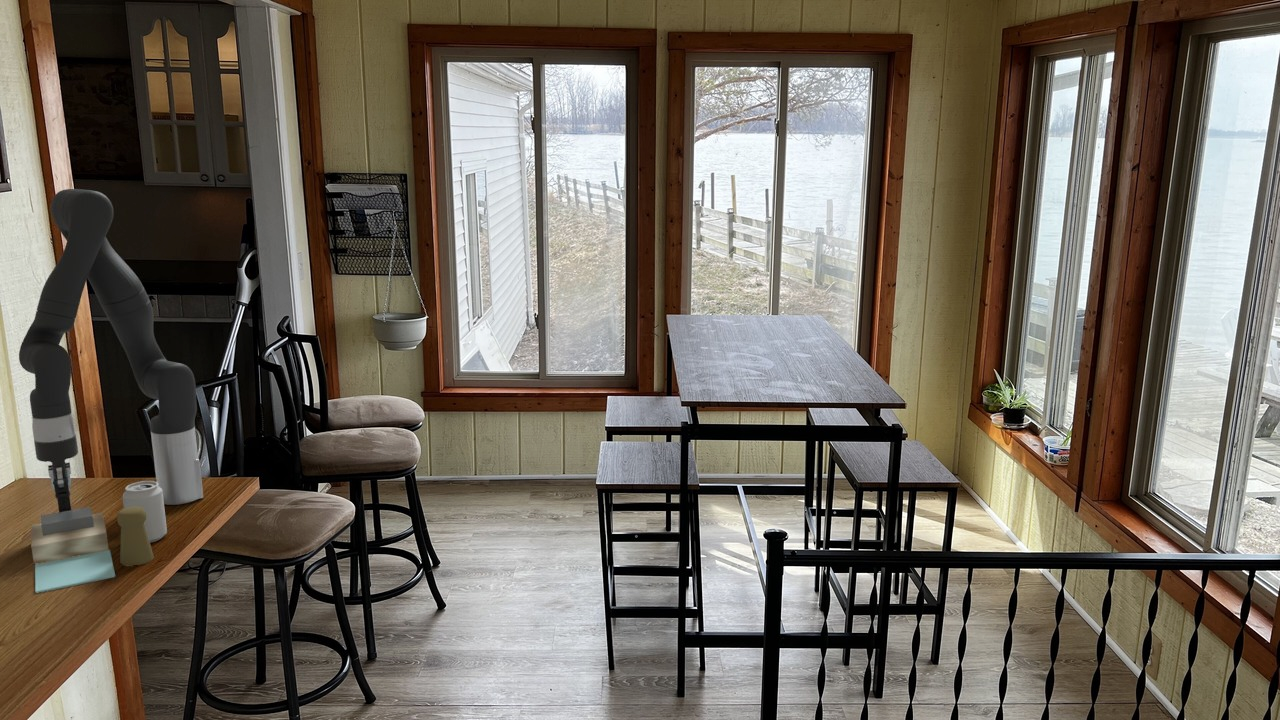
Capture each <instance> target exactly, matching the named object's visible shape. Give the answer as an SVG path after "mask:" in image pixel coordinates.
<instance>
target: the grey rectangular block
mask: <svg viewBox="0 0 1280 720" xmlns="http://www.w3.org/2000/svg"><path fill="white" fill-rule="evenodd" d="M92 514H93V512H92V507H91V506H90V507H87V506H86V507H84V508H77V509H71V510H70V511H64V512H59V511H58V512H51V513H48V514H41V515H40V523H41V526H42V533H43V536H46V535H51V534H57V533H62V532H68V531H73V530H79V529H84V528H90V527H94V524H93V517H92Z"/></svg>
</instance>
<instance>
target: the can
mask: <svg viewBox="0 0 1280 720" xmlns="http://www.w3.org/2000/svg"><path fill="white" fill-rule="evenodd" d="M124 490H125V491H124V492H123V494H122V504H123V509H124V508H128V507H134V506H138V507H142V508H143V509H144V510H145V511H146V515H147V517H146V520H145V522H144V524H145V527H146V531H147V534H148V538H149V542H150V544H151V543H155V542H157V541H159V540H161V539H163V538H164V537H165V535H167V533H168V529H167V527H168V526H167V521H166V520H167V518H166V511H165V504H164V500H163V491H162V489H161V488H160V487H159V486H158V483H157V481H156V480H155V481H154V480H141V481H137V482H133V483H130V484H128V485H127V486H125V488H124Z"/></svg>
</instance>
